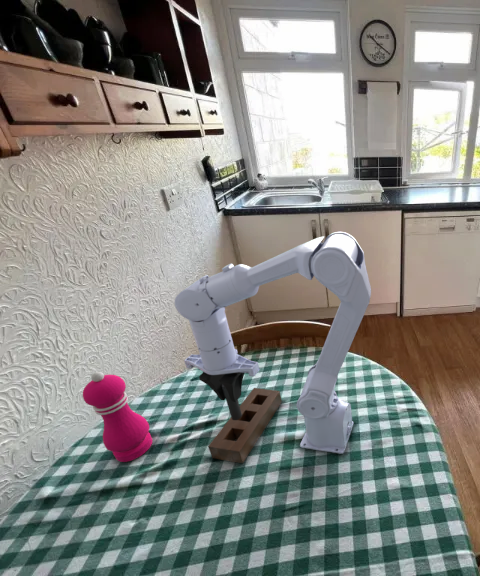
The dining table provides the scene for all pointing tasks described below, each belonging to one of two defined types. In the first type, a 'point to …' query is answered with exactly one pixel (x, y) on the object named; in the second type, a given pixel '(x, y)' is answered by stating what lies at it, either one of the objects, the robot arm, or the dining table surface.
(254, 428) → the holder
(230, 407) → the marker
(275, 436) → the dining table surface
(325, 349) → the robot arm
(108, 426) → the pepper mill
